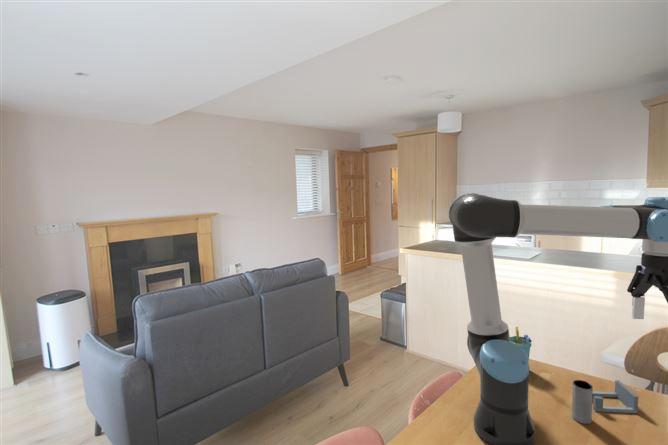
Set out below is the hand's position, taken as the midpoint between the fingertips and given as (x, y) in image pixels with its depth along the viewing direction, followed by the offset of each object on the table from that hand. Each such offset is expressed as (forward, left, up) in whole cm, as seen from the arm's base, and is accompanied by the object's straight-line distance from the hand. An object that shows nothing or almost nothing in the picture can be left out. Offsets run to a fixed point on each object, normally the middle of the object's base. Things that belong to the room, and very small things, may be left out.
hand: (654, 327), depth 99 cm
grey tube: (-21, -5, -25) cm, 33 cm away
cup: (-28, +21, -25) cm, 43 cm away
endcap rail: (-10, +3, -25) cm, 27 cm away
